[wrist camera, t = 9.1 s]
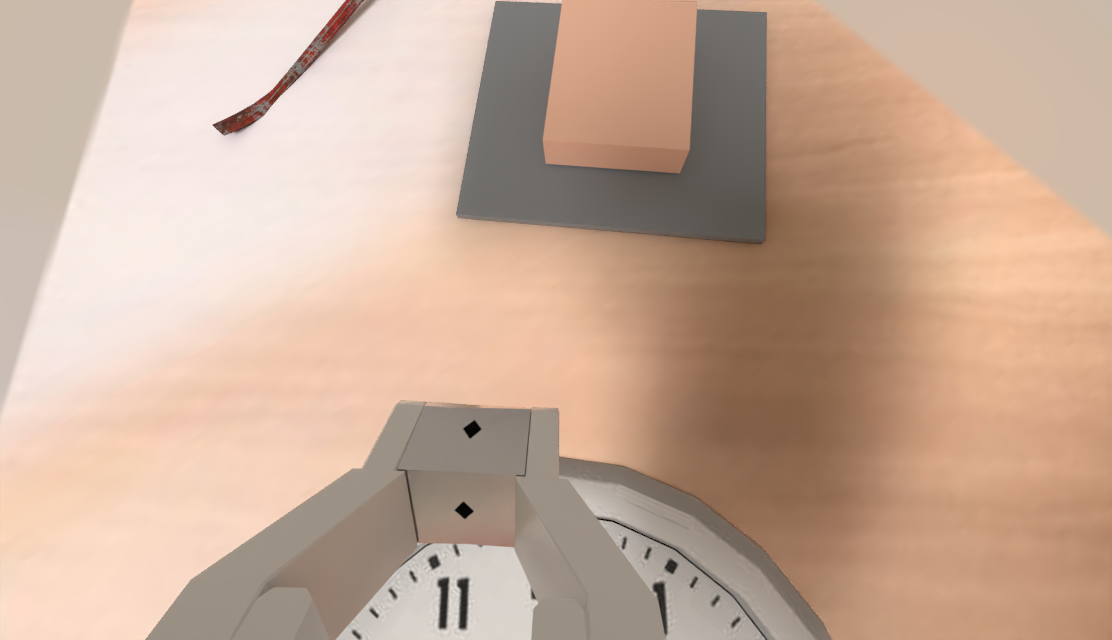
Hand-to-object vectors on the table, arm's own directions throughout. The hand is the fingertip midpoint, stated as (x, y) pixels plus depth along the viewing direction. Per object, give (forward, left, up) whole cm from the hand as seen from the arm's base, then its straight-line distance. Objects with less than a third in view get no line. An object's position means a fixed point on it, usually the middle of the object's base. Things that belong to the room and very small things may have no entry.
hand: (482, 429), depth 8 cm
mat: (-2, -19, -14) cm, 24 cm away
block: (-2, -15, -13) cm, 20 cm away
